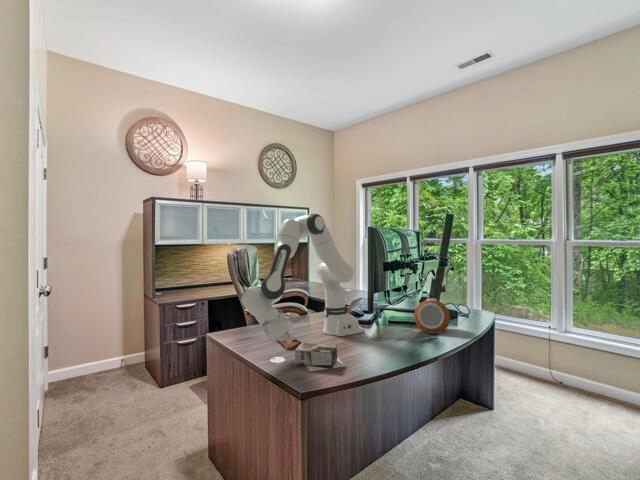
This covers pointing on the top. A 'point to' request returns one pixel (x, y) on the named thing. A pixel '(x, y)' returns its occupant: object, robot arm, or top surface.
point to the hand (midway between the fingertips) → (291, 342)
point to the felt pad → (336, 365)
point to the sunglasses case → (291, 346)
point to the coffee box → (316, 355)
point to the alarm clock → (432, 316)
